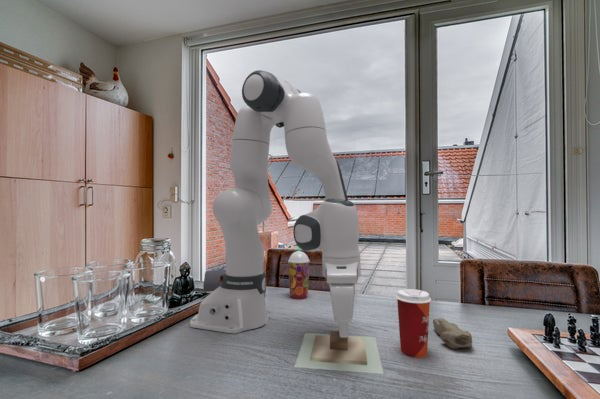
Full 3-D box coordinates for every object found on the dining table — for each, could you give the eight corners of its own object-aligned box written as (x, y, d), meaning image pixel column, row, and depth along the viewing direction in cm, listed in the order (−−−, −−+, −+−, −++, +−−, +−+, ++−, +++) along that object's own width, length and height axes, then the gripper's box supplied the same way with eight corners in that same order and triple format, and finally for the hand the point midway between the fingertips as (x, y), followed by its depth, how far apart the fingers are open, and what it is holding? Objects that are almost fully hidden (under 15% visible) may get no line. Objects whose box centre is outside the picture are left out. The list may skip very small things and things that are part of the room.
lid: (310, 361, 67) (310, 343, 67) (315, 338, 79) (315, 323, 79) (367, 365, 66) (367, 346, 66) (363, 341, 77) (363, 325, 77)
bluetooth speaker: (266, 292, 125) (266, 267, 125) (265, 298, 116) (265, 271, 116) (208, 293, 124) (208, 267, 124) (202, 299, 114) (203, 272, 115)
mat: (294, 369, 65) (294, 367, 65) (305, 334, 82) (305, 332, 83) (383, 376, 62) (383, 373, 62) (375, 339, 80) (375, 337, 80)
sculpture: (424, 332, 87) (449, 352, 72) (424, 314, 87) (449, 331, 72) (450, 334, 87) (480, 354, 72) (450, 316, 87) (480, 333, 72)
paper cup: (435, 363, 67) (434, 298, 68) (398, 360, 69) (397, 296, 69) (428, 347, 75) (427, 289, 75) (394, 345, 76) (394, 287, 77)
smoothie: (297, 292, 124) (297, 242, 125) (314, 296, 119) (314, 243, 119) (283, 297, 118) (283, 244, 118) (300, 301, 112) (300, 245, 113)
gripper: (329, 261, 84) (330, 313, 83) (326, 277, 63) (328, 346, 63) (353, 260, 83) (354, 313, 82) (357, 277, 63) (360, 347, 62)
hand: (343, 328), depth 72 cm, fingers open, 8 cm apart
